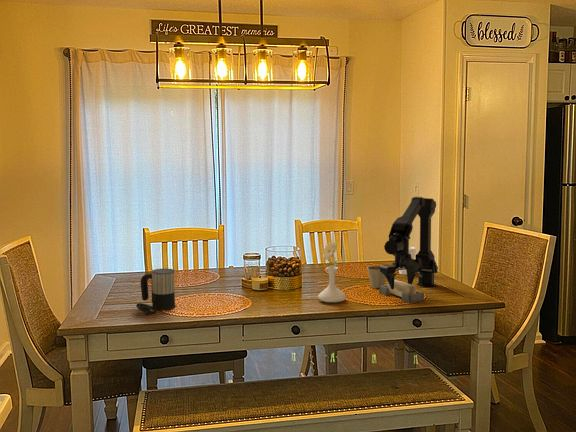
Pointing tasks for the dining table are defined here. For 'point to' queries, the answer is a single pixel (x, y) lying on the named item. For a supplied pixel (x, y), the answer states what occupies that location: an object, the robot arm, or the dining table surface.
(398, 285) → the beige rectangular block
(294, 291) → the dining table surface
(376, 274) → the flower pot
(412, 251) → the foam cup
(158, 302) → the milk frother
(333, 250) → the flower in vase
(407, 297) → the end caps
